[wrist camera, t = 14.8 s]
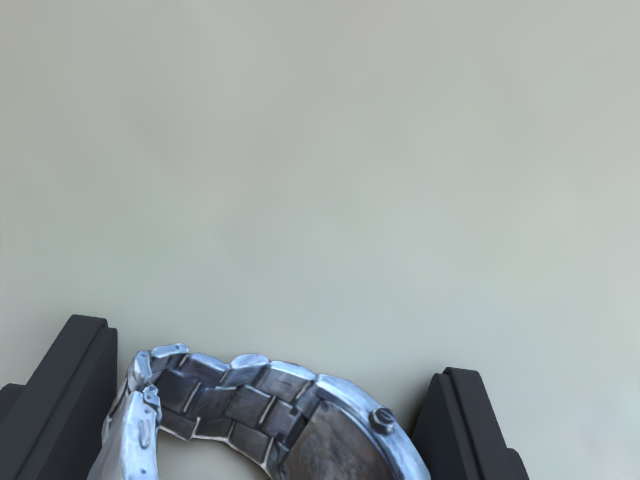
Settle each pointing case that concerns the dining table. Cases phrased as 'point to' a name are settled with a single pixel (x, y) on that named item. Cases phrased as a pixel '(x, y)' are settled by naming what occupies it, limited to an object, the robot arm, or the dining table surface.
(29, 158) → the dining table surface
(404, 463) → the wristwatch
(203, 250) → the dining table surface
